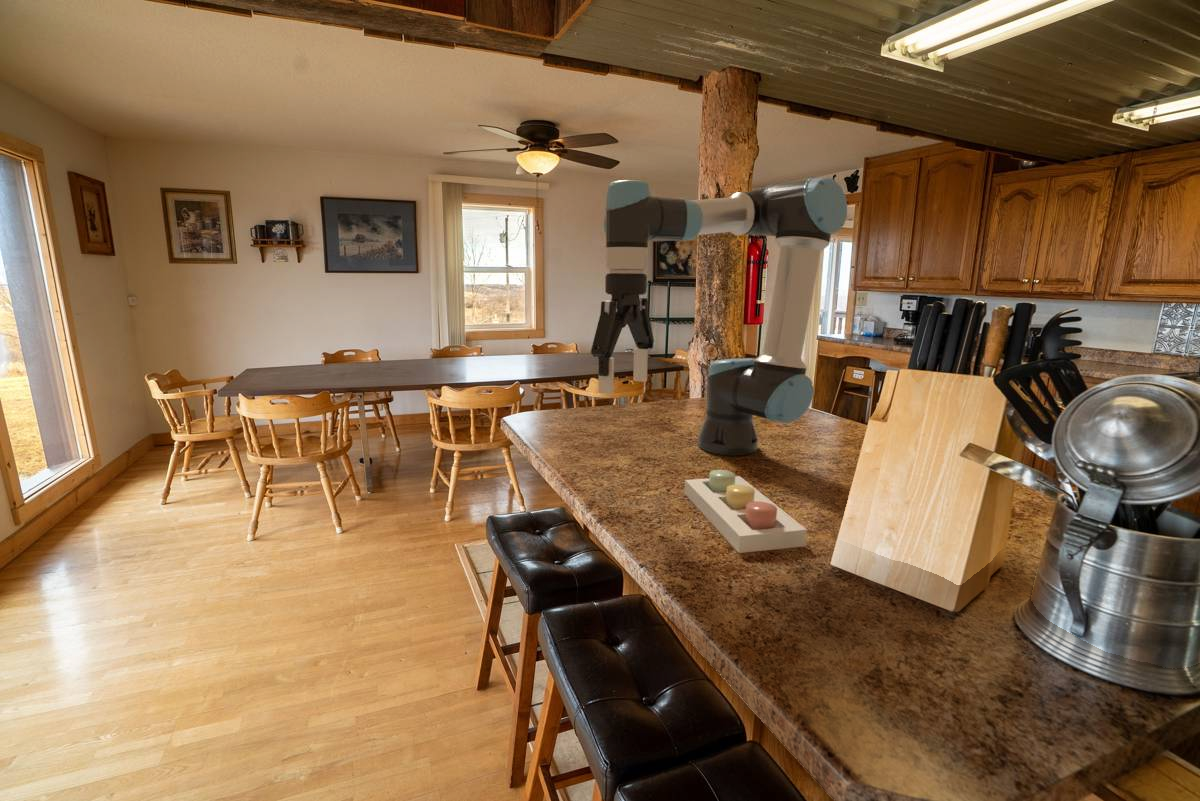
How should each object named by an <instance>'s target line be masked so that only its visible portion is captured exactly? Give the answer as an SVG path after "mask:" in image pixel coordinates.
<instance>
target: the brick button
mask: <svg viewBox="0 0 1200 801" xmlns="http://www.w3.org/2000/svg"><path fill="white" fill-rule="evenodd" d="M776 516H777V508H776V507H775V506H774V505H772V504H770V503H766V502H760V501H755V502H750V503H748V504H747V506H746V519H745V523H746V525H748V526H749V527H751V528H754V529H757V530H762V529H772V528H775V526H776Z"/></svg>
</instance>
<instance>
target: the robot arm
mask: <svg viewBox="0 0 1200 801" xmlns="http://www.w3.org/2000/svg"><path fill="white" fill-rule="evenodd" d="M606 191H607V192H606V200H605V202H606V203H605V217H604V220H603V230H604V233H605V243H606V244H605V247H606V248H605V249H606V250H605V251H606V252H605V254H604V255H605V256H604V257H605V269H606V270H607V271H608V273H606V275H605V284H604V285H605V287H604V288H605V289H604V290H605V293H606V294H607V295H611V299H610V300H601V303H600V314H599V318H598V322H597V326H596V329H595V333H594V337H593V342H592V345H591V350H590V353H591V355H592V356H593V357H595V358H598V392H597V393H598V394H605V395H610V396H611V395H613V394H614V390H615V389H614V387H615V386H614V385H615V384H614V383H615V382H614V381H615V378H614V377H615V357H612V356H613V352H614V351H615V348H616V345H617V343H618V339H619V338H620V335H621V332H622V330H623V328H625V327H626V325H627V326H628V328H629V331H630V334H631V336H632V338H633V341H634V343H635V346H636V347H635V348H633V371H632V372H633V377H632V378H633V379H632V381H634V382H642V383H646V382H648V356H649V349H650V350H652V349H653V348H654V343H655V340H654V334H653V328H652V323H651V318H650V313H649V301H648V298H646V297H640V296H642V295H645V294H646V293H647V288H648V287H647V286H648V285H647V283H648V282H647V281H648V280H647V278H648V275H646V273H645V271H647V270H648V254H649V253H648V252H649V251H648V249H649V248H648V246H649V242H651V243H653V242H665V241H666V242H667V241H675V242H689V241H692V240H694V239H695V238H696V237H697V236H704V235H713V234H715V235H716V234H723V233H730V234H732V235H734V236H748V235H749V236H763V237H775V238H774V241H775V243H776V244H777V246H778V247H779V249H780V250H779V257H778V263H777V267H776V272H775V277H774V278H775V281H774V284H773V285H774V286H773V290H772V291H773V292H772V295H771V297H772V298H771V303H770V308H769V312H768V313H769V315H768V319H767V326H766V331H765V332H766V333H765V338H764V342H763V343H764V345H763V348H762V354H760V355H759V356H757V357H756V358H727V359H725V358H724V359H717V360H714V361H712V362H711V363H710V365H709V366H708V367H709V368H708V374H707V385H706V386H707V387H706V388H707V391H706V415H705V419H704V421H703V424H702V426H701V429H700V430H699V435H698V436H697V447H699V448H700V449H701V450H703V451H705V452H707V453H711V454H715V455H721V456H735V457H736V456H738V457H739V456H747V455H751V454H754V453H756V452H757V451H758V448H759V447H758V443H759V441H758V436H757V432H756V429H755V425H754V421H753V418H754V417H753V416H755V417H759V418H762V419H766V420H768V421H770V422H778V423H782V424H790V423H793V422H796V421H798V420H799V419H801V417H802V416H803V415H805V414H806V412H807V411H808V410H809V408H810V406H811V403H812V401H813V397H814V385H813V381H812V379H811V378H810V377H808V375H806V372H807V365H806V364H805V363H804V361H803V359H802V356H803V350H804V344H805V338H806V332H807V328H808V322H809V317H810V311H811V306H812V302H813V295H814V288H815V283H816V279H817V274H818V267H819V262H820V256H821V253H822V251H823V250H825V249H826V248H828V247H829V246H830V241H831V236H832V235H834V234H836V233H838V232H839V231H840V230H842V227H843V226H844V225H845V223H846V220H847V216H848V202H847V198H846V194H845V192H844V190H843V188H842V186H841V185H840V183H839V182H838V181H836V180H835V179H834V178H830V177H818V178H817V177H811V178H808V179H802V180H801V179H800V180H796V181H789V182H783V183H775V184H770V185H767V186H763V187H761V188H755V189H752V190H747V191H740V192H735V193H733V194H732V195H730V196H729V197H723V198H722V197H720V198H719V197H718V198H706V199H694V200H693V199H690V200H689V199H685V198H673V197H672V198H671V197H660V196H653V195H650V194H651V192H650V185H649V183H648V182H646V181H643V180H639V179H638V180H636V179H634V180H633V179H624V180H623V179H622V180H616V181H612V182H611V183H609V185H608V187H607V190H606Z"/></svg>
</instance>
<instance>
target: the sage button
mask: <svg viewBox="0 0 1200 801" xmlns="http://www.w3.org/2000/svg"><path fill="white" fill-rule="evenodd" d="M735 476H736V474H735V472H733V471H730V470H725V469H714V470H711V471H710V472H709V477H708V478H709V489H710V490H711V491H713V492H717V493H721V492H726V491H727V487H728V486H730V485H735Z"/></svg>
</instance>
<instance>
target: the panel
mask: <svg viewBox="0 0 1200 801" xmlns="http://www.w3.org/2000/svg"><path fill="white" fill-rule="evenodd" d="M736 484H738V485H746V486H749V487H751V488H753V489H754V490H755V493H754V502H755V501H760V502H766V503H770V504H772V505H774V506H775V507H776V508H777V516H776V526H775V528H772V529H762V530H757V529H754V528H751V527H749V526H748V525H746V523H745V519H746V509H741V510H735V509H732V508H729V507H728V506H727V505H726V492H721V493H717V492H713V491H711V490H710V489H709V477H708V478H694V479H684V492H683V493H684V495H685V496H686V498H688V499H689V500H690V502H692V504H693V505H694V506H695V507H696V508H697V509H698V511H699V512H700V513H701V514H702V515H703V516H704V517H705V518H706V519H707V520H708V521H709V522H710V524H711V525H712V526H713V527H714V528H715V529H716V531H717V532H719V533H720V535H722V537H723V538H724V539H725V540H726V541H727V542H728V543H729V544H730V546H732V548H733V549H734V550H735V552H737V554H743V553H753V552H760V551H761V552H762V551H763V552H765V551H773V550H782V549H784V550H785V549H793V548H802V547H806V546H807V545H806V543H807V534H808V529H807V528H806V527H804V526H803V525H802V524H801V523H800V522H798V521H797V520H796V519H794V518H793V517H792V516H791V515H790V514H788V513H787V512H785V511H784V510H783V509H782V508H780V507H779V506H778V505H777V504H776V503H775V502H773V501H772V500H770V499H769V498H768V497H767V496H765V495H764V494H762V493H761V492H760V490H758V489H756V488H755V487H754V486H753V485H752V484H750V483H749V482H747V481H746V480H745V479H744V478H743V477H742V476H740V475H735V485H736Z"/></svg>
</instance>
